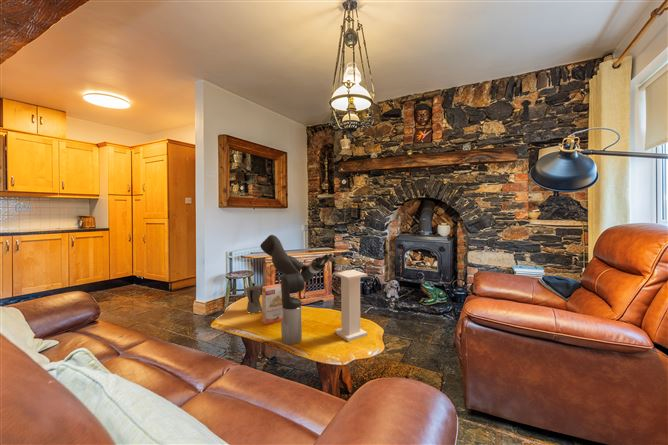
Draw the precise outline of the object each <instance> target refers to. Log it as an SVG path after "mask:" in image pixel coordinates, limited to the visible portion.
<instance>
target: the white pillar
mask: <svg viewBox="0 0 668 445" xmlns="http://www.w3.org/2000/svg"><path fill="white" fill-rule="evenodd" d="M333 274H334V276H337V277H339V278H340V280H341V281H340V284H341V285H340V292H341V293H340V300H341V301H340V302H341V307H340V309H341V310H340V311H341V317H340V320H341V324H340V325H341V327H340V328H336V329H334V333H335V334H337V335H338V336H339V337H341V338H342V339H343V340H344V341H347V343H349V342H352V341H355V340H357V339H358V340H359V339H361V338H363V337H367V336H368V332H367V331H365V330H364V329H362V328H361V278H367V277H368V273H365V272H362V271H359V270H356V269H349V270H342V271H337V272H336V271H335V272H334V273H333Z"/></svg>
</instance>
